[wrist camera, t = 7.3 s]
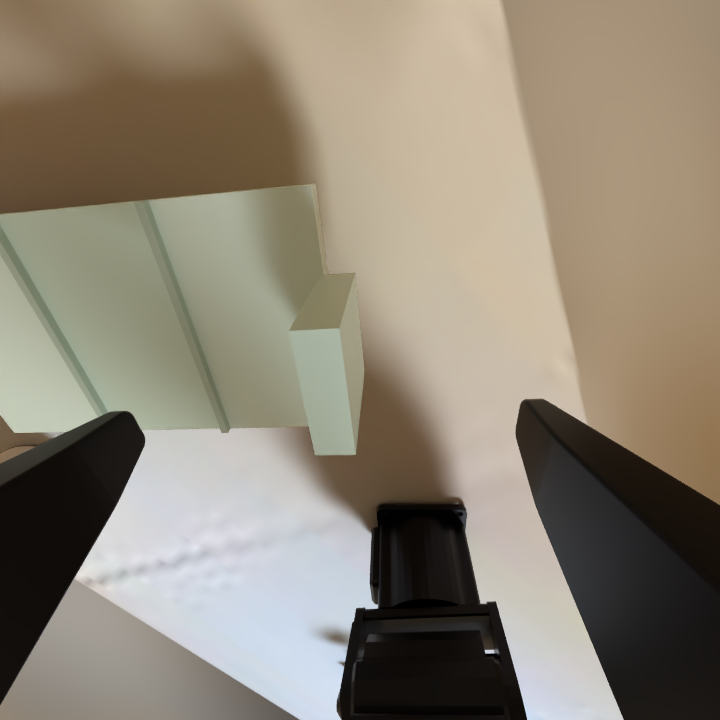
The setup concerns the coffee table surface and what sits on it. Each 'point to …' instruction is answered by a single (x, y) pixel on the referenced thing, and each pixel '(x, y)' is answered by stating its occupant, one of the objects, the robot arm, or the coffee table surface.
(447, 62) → the coffee table surface
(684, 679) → the robot arm
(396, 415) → the coffee table surface
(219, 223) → the lid
